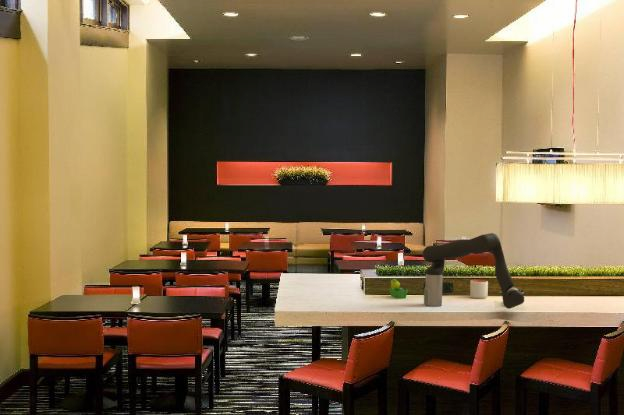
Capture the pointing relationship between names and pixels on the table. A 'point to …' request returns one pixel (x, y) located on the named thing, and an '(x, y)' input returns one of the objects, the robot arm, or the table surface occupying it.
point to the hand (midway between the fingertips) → (511, 289)
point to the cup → (479, 289)
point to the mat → (501, 306)
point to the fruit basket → (397, 290)
